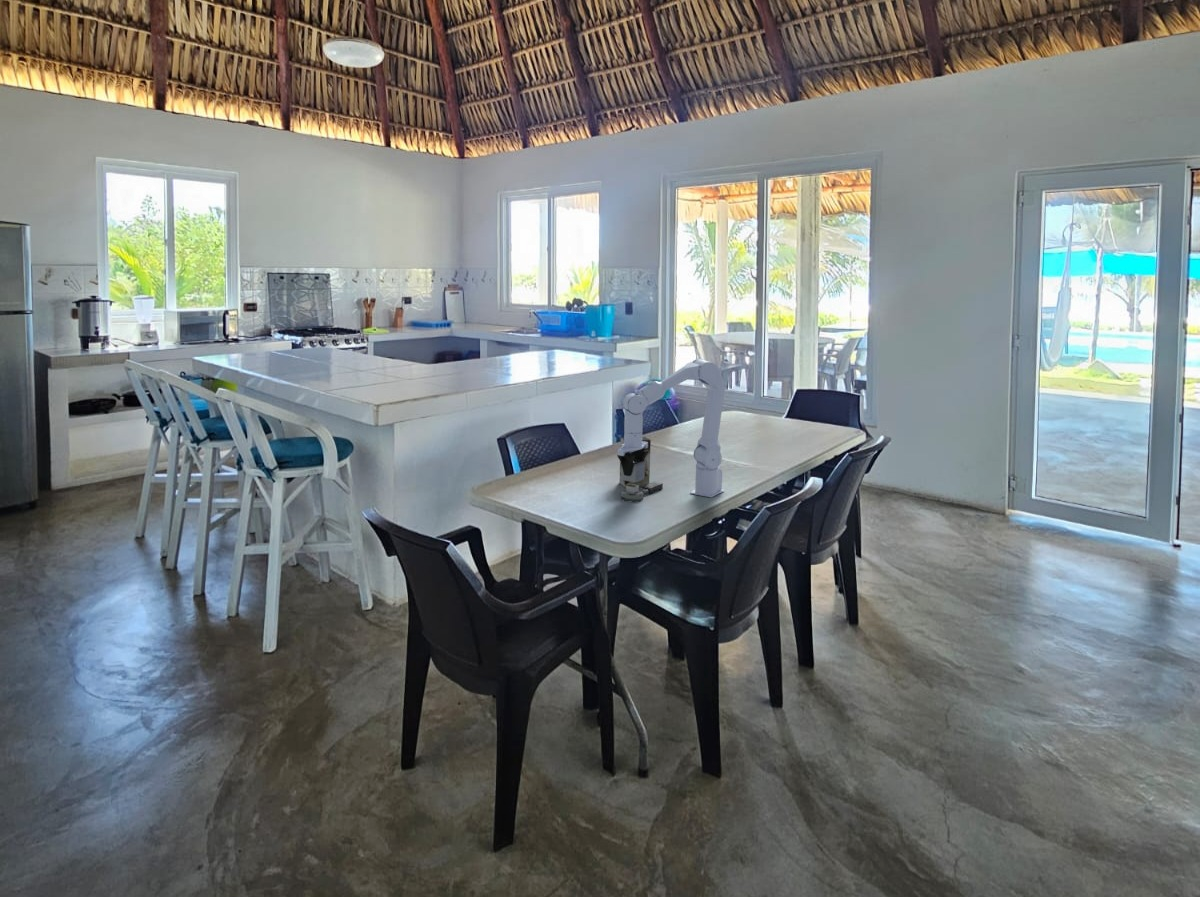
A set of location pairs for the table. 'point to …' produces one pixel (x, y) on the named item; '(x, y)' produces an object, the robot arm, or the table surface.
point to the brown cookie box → (647, 466)
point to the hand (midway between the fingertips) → (632, 473)
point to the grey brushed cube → (635, 471)
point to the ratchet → (639, 491)
